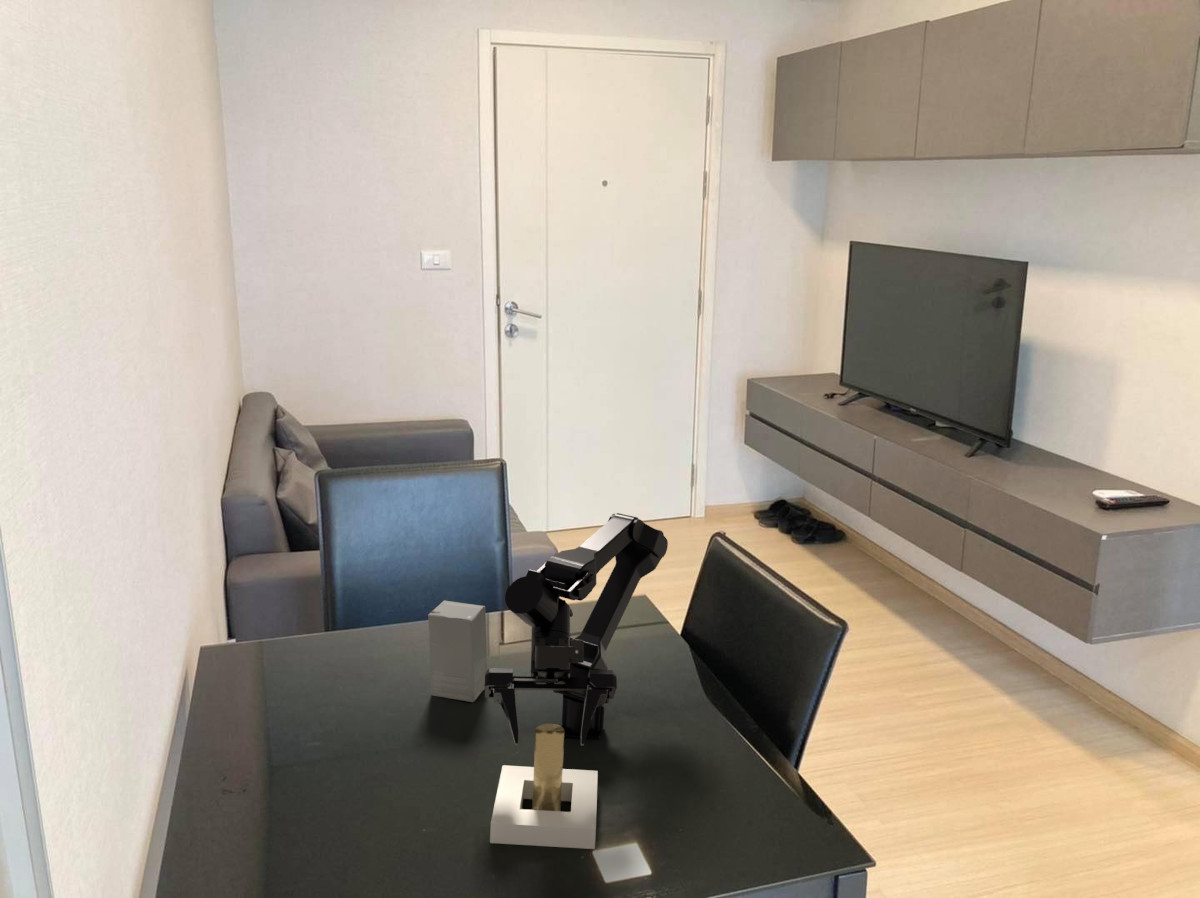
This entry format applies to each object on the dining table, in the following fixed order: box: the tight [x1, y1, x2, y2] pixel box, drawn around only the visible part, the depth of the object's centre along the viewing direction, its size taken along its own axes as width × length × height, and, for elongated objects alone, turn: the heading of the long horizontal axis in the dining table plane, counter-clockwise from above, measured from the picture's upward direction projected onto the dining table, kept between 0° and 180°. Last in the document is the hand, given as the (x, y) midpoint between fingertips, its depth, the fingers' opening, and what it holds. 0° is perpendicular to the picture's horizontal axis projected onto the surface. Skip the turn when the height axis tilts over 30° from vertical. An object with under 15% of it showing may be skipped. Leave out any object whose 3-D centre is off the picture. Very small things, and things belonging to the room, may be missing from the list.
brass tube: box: [531, 723, 565, 812], centre depth 135 cm, size 4×4×13 cm
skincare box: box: [427, 600, 488, 703], centre depth 168 cm, size 8×7×16 cm
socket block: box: [489, 764, 599, 850], centre depth 136 cm, size 14×14×3 cm
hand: (549, 744), depth 136 cm, fingers open, 9 cm apart
